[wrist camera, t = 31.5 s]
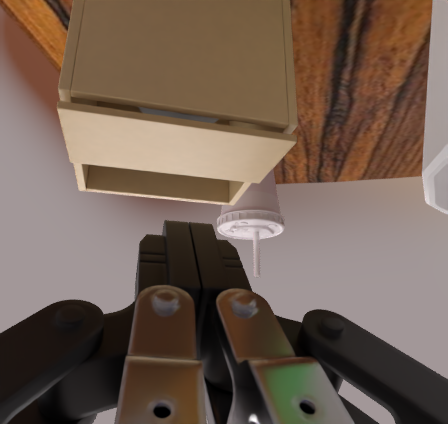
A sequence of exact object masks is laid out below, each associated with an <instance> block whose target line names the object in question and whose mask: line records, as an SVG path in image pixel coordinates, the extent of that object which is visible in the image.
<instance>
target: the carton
mask: <svg viewBox="0 0 448 424" xmlns="http://www.w3.org/2000/svg"><path fill="white" fill-rule="evenodd" d="M58 90H59V95H60V100H61V101H64V102H70V103H77V104H84V105H91V106H98V107H105V108H112V109H119V110H125V111H132V112H139V113H143V112H141V110H140V109H139V108H138V107H142V108H149V109H156V110H162V111H169V112H176V113H183V114H189V115H196V116H203V117H210V118H216V119H219V120H218V121H216V122H215V124H222V125H229V126H236V127H243V128H249V129H256V130H263V131H270V132H277V133H284V134H291V133H292V132H293V131H294V129H295V128H296V127H297V126H298V119H297V104H296V88H295V73H294V57H293V42H292V26H291V10H290V0H73V5H72V11H71V17H70V23H69V28H68V34H67V40H66V46H65V51H64V57H63V63H62V69H61V74H60V81H59V86H58ZM73 164H74V169H75V174H76V179H77V183H78V188H79V191H89V192H100V193H110V194H120V195H131V196H140V197H152V198H161V199H171V200H182V201H192V202H202V203H212V204H222V205H232V206H234V205H235V204H236V202H237V201H238V200H239V199H240V197H241V196H242V195H243V193H244V192H245V191H246V190H247V188H248V187H249V186H250V185H251V183H249V182H240V181H231V180H223V179H214V178H205V177H196V176H187V175H178V174H169V173H160V172H151V171H143V170H134V169H125V168H116V167H107V166H98V165H89V164H80V163H73Z"/></svg>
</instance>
